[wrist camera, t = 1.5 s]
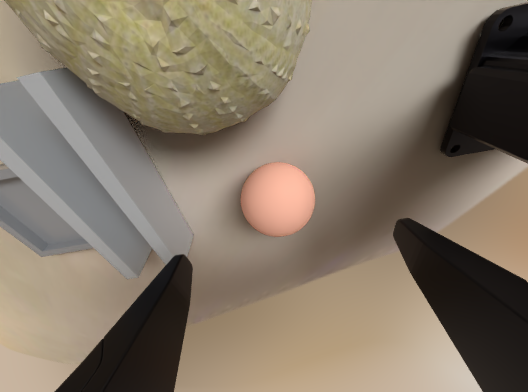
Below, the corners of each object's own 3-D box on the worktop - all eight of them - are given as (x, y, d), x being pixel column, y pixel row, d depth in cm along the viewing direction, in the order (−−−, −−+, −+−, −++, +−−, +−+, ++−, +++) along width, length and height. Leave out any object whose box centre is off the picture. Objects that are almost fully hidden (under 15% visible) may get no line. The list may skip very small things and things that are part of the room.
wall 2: (95, 62, 9) (39, 72, 7) (193, 234, 16) (183, 270, 13) (78, 66, 9) (16, 77, 7) (183, 236, 16) (171, 272, 13)
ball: (303, 143, 12) (324, 183, 8) (307, 198, 14) (324, 245, 11) (234, 157, 12) (228, 200, 9) (249, 208, 14) (249, 257, 11)
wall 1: (32, 77, 9) (-45, 91, 7) (155, 241, 16) (138, 277, 13) (15, 81, 9) (-66, 97, 7) (145, 242, 16) (126, 279, 13)
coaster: (67, 150, 11) (53, 159, 10) (133, 231, 15) (126, 242, 14) (-39, 172, 12) (-60, 182, 11) (52, 245, 15) (41, 256, 15)
